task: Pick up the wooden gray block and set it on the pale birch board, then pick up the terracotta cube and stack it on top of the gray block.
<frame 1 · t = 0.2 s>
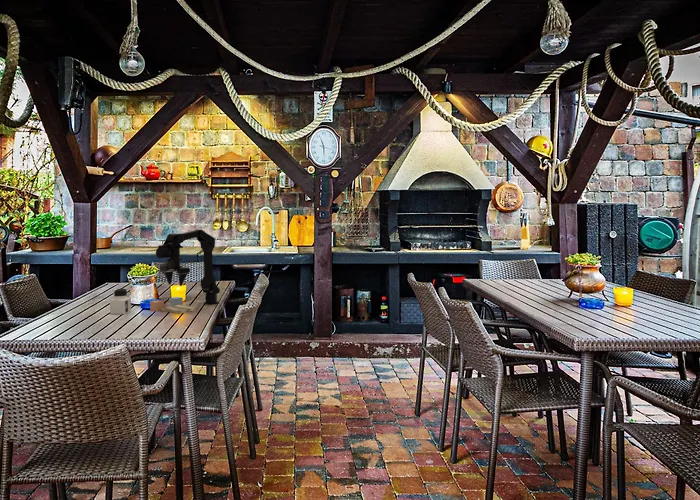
hand: (175, 285, 298), 14 cm above the table, tool pointing down, fingers open, 9 cm apart
birch base: (179, 310, 301), on the table
container: (120, 313, 293), on the table
terracotta block: (157, 310, 301), on the table
gray block: (176, 306, 313), on the table
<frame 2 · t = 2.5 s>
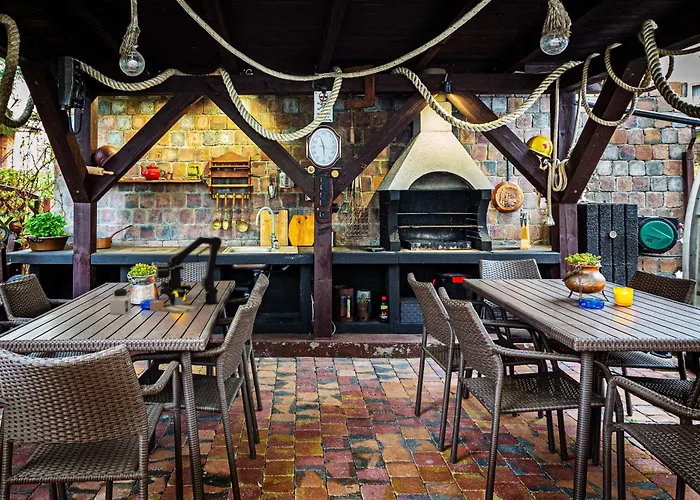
hand: (176, 304, 313), 1 cm above the table, tool pointing down, fingers closed on gray block, 5 cm apart
gray block: (176, 306, 313), on the table, touching gripper
everything else where it was.
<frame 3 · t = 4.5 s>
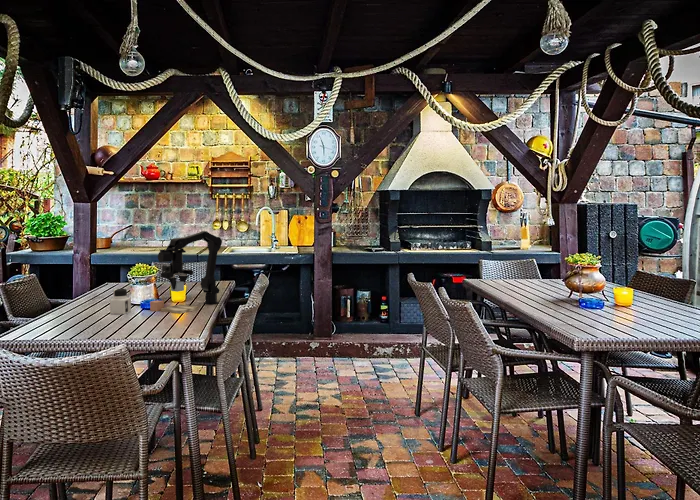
hand: (177, 288, 304), 11 cm above the table, tool pointing down, fingers closed on gray block, 5 cm apart
gray block: (177, 290, 305), point 10 cm above the table, touching gripper
everything else where it was.
when the fingers open (4 cm above the table, at t = 6.5 s): gray block drops 1 cm, resting on birch base.
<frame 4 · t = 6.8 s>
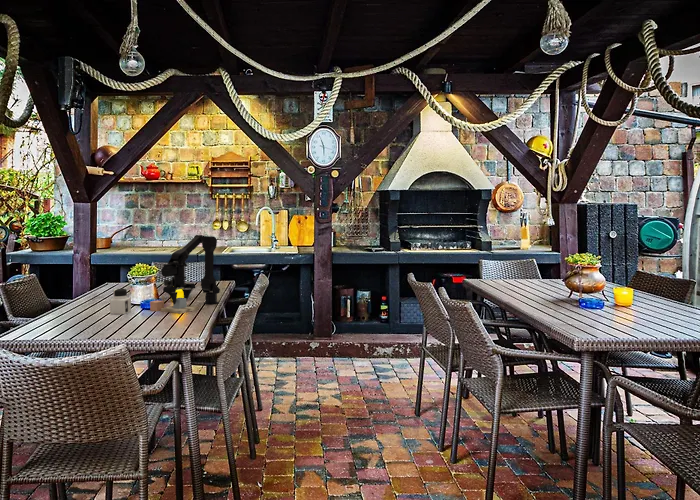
hand: (179, 303, 300), 4 cm above the table, tool pointing down, fingers open, 8 cm apart
gray block: (179, 307, 301), point 1 cm above the table, touching birch base
everything else where it was.
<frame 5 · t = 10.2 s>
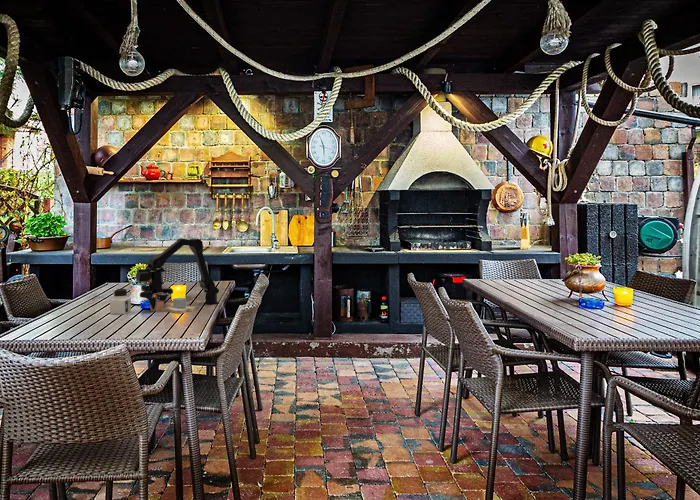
hand: (157, 308, 300), 1 cm above the table, tool pointing down, fingers closed on terracotta block, 5 cm apart
terracotta block: (157, 310, 301), on the table, touching gripper
everything else where it was.
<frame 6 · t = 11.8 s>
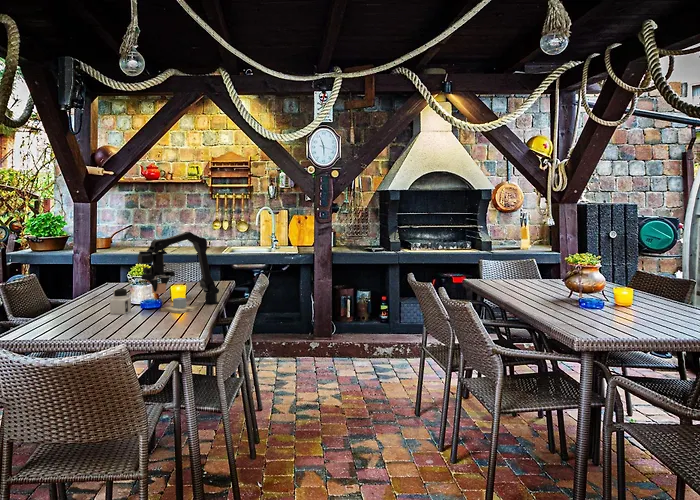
hand: (159, 290, 300), 11 cm above the table, tool pointing down, fingers closed on terracotta block, 5 cm apart
terracotta block: (159, 292, 300), point 10 cm above the table, touching gripper
everything else where it was.
when the fingers open (8 cm above the table, at t = 13.4 s): terracotta block stays where it is, resting on gray block.
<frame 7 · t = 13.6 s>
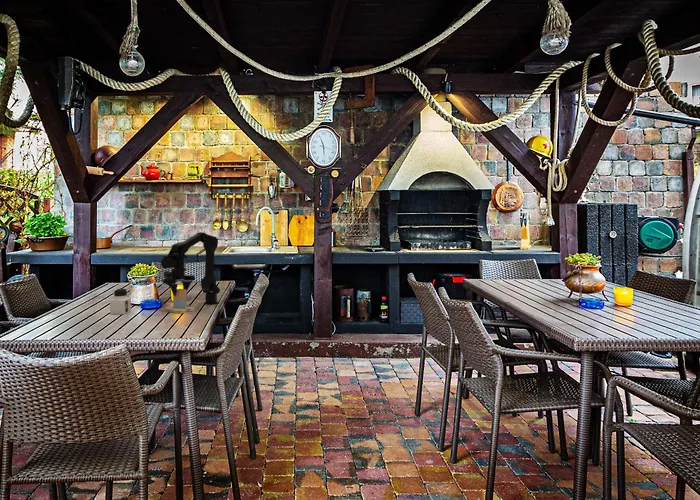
hand: (179, 295, 300), 8 cm above the table, tool pointing down, fingers open, 7 cm apart
terracotta block: (179, 298, 300), point 6 cm above the table, touching gray block
gray block: (179, 307, 301), point 1 cm above the table, touching birch base, terracotta block
everything else where it was.
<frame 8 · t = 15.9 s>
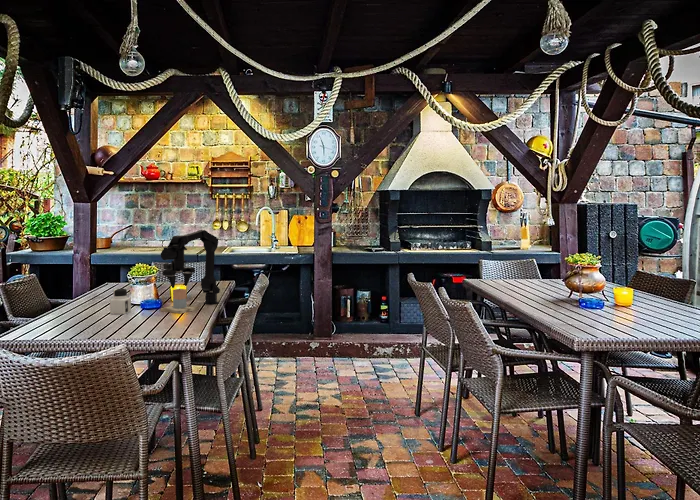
hand: (179, 286, 300), 13 cm above the table, tool pointing down, fingers open, 9 cm apart
nothing on the table moved.
at the end: gray block inside the target area on the birch base (0.1 cm from its centre), point 1.5 cm above the birch base's base; terracotta block 0.1 cm off-centre on the gray block, point 5.0 cm above the gray block's base; terracotta block tilted 0° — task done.
